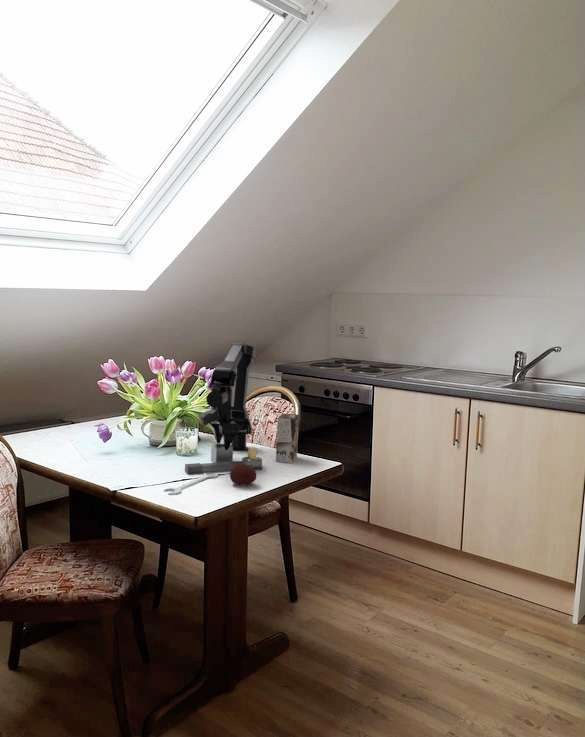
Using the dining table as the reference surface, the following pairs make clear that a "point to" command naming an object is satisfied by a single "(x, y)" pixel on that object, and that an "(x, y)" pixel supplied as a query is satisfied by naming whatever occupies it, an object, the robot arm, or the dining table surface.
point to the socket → (221, 453)
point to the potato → (242, 474)
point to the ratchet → (225, 464)
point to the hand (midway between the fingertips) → (222, 446)
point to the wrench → (190, 483)
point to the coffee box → (287, 438)
